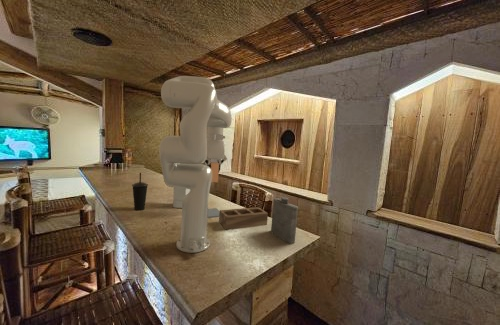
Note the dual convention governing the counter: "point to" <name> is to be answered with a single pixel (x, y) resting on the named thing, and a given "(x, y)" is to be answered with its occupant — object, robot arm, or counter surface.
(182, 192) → the supplement box
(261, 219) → the wooden compartment box
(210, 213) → the mat
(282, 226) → the flask
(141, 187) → the drinking cup
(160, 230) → the counter surface
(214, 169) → the peg
